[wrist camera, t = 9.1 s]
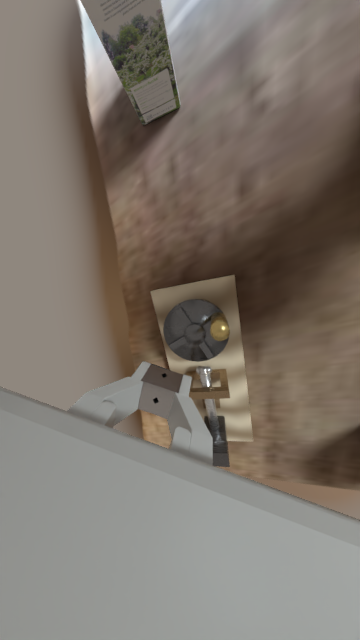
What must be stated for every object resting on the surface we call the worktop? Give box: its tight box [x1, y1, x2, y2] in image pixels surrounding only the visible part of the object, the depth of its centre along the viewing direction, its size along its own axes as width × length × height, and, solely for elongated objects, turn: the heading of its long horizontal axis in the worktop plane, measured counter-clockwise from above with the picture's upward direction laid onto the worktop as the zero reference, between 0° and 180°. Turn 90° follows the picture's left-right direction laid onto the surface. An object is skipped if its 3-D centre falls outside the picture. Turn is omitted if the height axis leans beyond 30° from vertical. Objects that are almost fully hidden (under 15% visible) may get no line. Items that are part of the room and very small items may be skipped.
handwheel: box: [163, 299, 230, 362], centre depth 24 cm, size 10×10×6 cm
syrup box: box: [81, 0, 181, 125], centre depth 15 cm, size 6×6×14 cm
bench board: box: [150, 275, 253, 441], centre depth 31 cm, size 34×14×4 cm, turn 12°
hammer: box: [196, 366, 230, 467], centre depth 30 cm, size 17×4×7 cm, turn 12°
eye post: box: [186, 369, 230, 400], centre depth 29 cm, size 1×7×6 cm, turn 102°
